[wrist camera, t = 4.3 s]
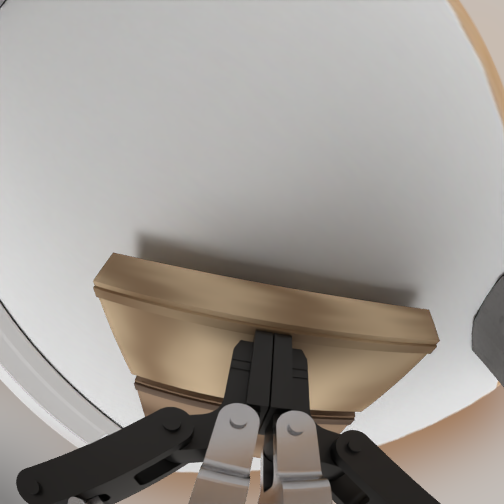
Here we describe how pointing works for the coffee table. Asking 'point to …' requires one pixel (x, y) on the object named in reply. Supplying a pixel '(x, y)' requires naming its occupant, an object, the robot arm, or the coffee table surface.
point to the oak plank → (256, 318)
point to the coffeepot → (491, 331)
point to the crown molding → (49, 385)
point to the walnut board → (198, 403)
